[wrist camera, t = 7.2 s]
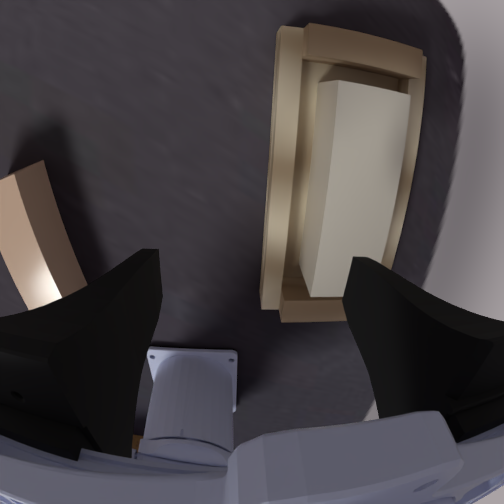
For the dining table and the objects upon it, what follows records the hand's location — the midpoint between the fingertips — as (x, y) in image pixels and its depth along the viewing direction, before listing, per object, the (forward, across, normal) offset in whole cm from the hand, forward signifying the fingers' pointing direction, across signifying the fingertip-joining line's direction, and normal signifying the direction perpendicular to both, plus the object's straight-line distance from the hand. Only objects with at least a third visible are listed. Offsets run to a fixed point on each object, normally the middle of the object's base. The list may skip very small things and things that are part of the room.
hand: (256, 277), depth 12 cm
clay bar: (+9, -6, -2) cm, 11 cm away
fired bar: (+10, +15, +4) cm, 19 cm away
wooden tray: (+10, -6, -2) cm, 11 cm away
